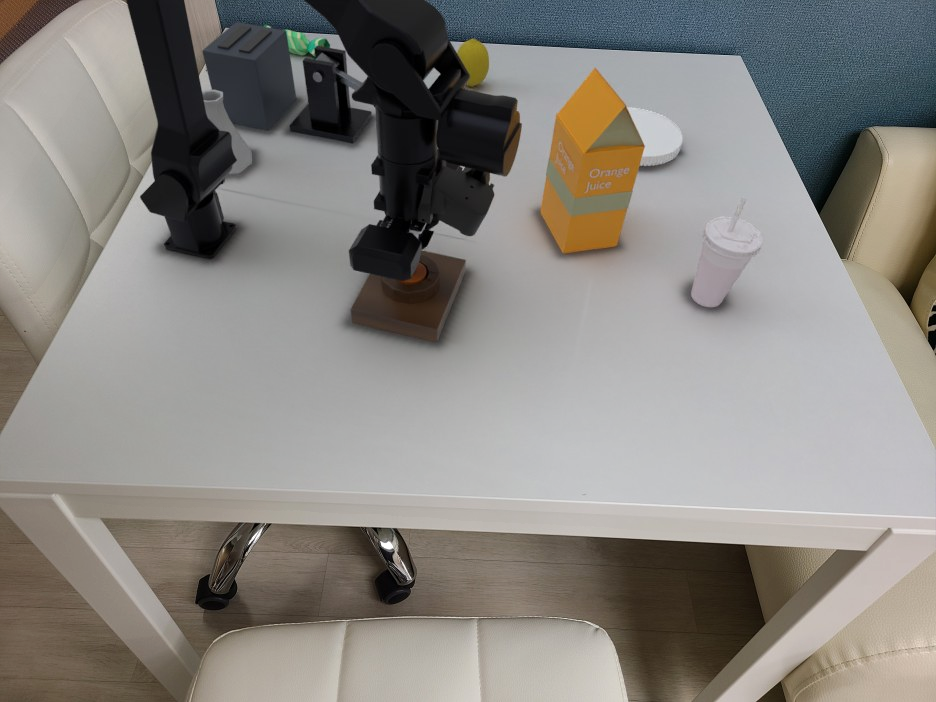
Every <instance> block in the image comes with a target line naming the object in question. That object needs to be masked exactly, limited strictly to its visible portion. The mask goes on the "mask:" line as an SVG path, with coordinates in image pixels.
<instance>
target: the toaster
mask: <svg viewBox="0 0 936 702" xmlns="http://www.w3.org/2000/svg"><path fill="white" fill-rule="evenodd" d="M263 26H264V25H263ZM263 26H262V25H256V24H250V23H245V22H239V21H235V22H234V23H233V24H232V25H231V26H229V28H227V29H226V30H225V31H224V32H222V33H221V34H220V35H219V36H218V37H216V39H214V40H213V41H212V42H211V43H209V44H208V45H207V46H206V47H204V48H203V49H202V50H201V52H202V55H203V56H202V57H203V60H204V64H205V68H206V72H207V75H208V76H207V77H208V80H209V83H210V88H211V90H218V91H221V92H223V105H224V108H225V110H226V113H227V115H228V117H229V119H230V121H231V122H232V124H233V125H234V126H235V125H236V126H242V127H246V128H251V129H256V130H257V129H258V130H262V131H266V132H269V131H270V130H271V129H272V128H273V127H274V125H275V124H277V122H279V120H280V119H281V118H282V117H283V116H284V114H285V113H286V112H287V111H288V110H289V109H290V107H291V106H292V105H293V104H294V103H295V102H296V101H297V93H296V86H295V80H294V72H293V66H292V61H291V53H290V52H289V46H288V39H287V32H286V30H287V29H286V30H285V29H279V28H274V27H271V28H269V27H263Z"/></svg>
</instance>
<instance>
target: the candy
mask: <svg viewBox="0 0 936 702" xmlns="http://www.w3.org/2000/svg"><path fill="white" fill-rule="evenodd" d="M263 27H269V28H272V27H271V26H270V25H268V24H267V23H265V24H264V25H263ZM284 30H286V32H287V39H288V46H289V52H290V54H292V55H297V56H300V57H301V56H302V57H304V56H306V55H307V54H308V53H310V54H311V55H312V56H313V57H314V58H315V51H314V48H315V47H316V46H322V47H328V48H331V44H330V42H329V41H328V39H327V38H323V37H316V38H314V39H312V40H309V38H308V37H307V36H306V34H305V33H303V32H299V31H294V30H290V29H284Z"/></svg>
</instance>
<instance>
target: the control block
mask: <svg viewBox="0 0 936 702" xmlns="http://www.w3.org/2000/svg"><path fill="white" fill-rule="evenodd" d="M419 262H420V263H421V264H423V265H424V266H425V268H426V280H424V281H422V282H421V283H419V284H412V285H407V284H402V283H399V282H398V281H397V280H395V279H391V278H387V277H382V276H378V275H373V274H369V275H368V276H367V279H366V280H365V282H364V284H363V285H362V288H361V289H360V291H359V293H358V294H357V297H356V299H355V300H354V302H353V304H352V306H351V308H350V317H351V323H352V324H355V325H360V326H364V327H369V328H372V329H377V330H381V331H385V332H390V333H395V334H397V335H398V334H399V335H402V336H407V337H412V338H416V339H420V340H424V341H428V342H433V343H438V342H439V339H440V336H441V334H442V332H443V329H444V327H445V325H446V322H447V319H448V316H449V314H450V311H451V309H452V306H453V304H454V302H455V299H456V297H457V294H458V291H459V289H460V286H461V285H462V283H463V279H464V277H465V274H466V263H467V260H466V259H464V258H459V257H454V256H449V255H445V254H440V253H436V252H431V251H427V250H422V251H421V256H420V260H419Z"/></svg>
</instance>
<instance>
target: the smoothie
mask: <svg viewBox="0 0 936 702" xmlns="http://www.w3.org/2000/svg"><path fill="white" fill-rule="evenodd" d="M746 201H747V198H746V197H743V196H742V197H741V198H740V199H739V202H738V204H737V206H736V209H735V211H734V214H733V216H717V217H714V218H711V219H710V220H709V221H708V222H707V223H706V224H705V228H704V229H703V231H702V239H703V241H702V245H701V249H700V253H699V258H698V261H697V266H696V270H695V275H694V278H693V283H692V287H691V292H690V296H691V298H692V300H693V301H694V302H695V303H696V304H697V305H700V306H701V307H704V308H716V307H719V306H720V305H721V304H722V302H723V301H724V299H725V298H726V296H727V295H728V293H729V292H730V290H731V289H732V288H733V286H734V285H735V283H736V282H737V280H738V279H739V278H740V276H741V274H743V271H744V270H745V268H746V267H747V265H748V264H749V263H750V261H751V259H752V258H753V257H755V256H757V255H758V254H759V253H760V251H761V249H762V246H763V243H764V238H763V235H762V233H761V231H760V230H759V229H758V228H757V227H755V225H753V224H752V223H750V222H748V221H747V220H744V219H741V218H739V217H740V216H741V213H742V211H743V208H744V207H745V204H746Z"/></svg>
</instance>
